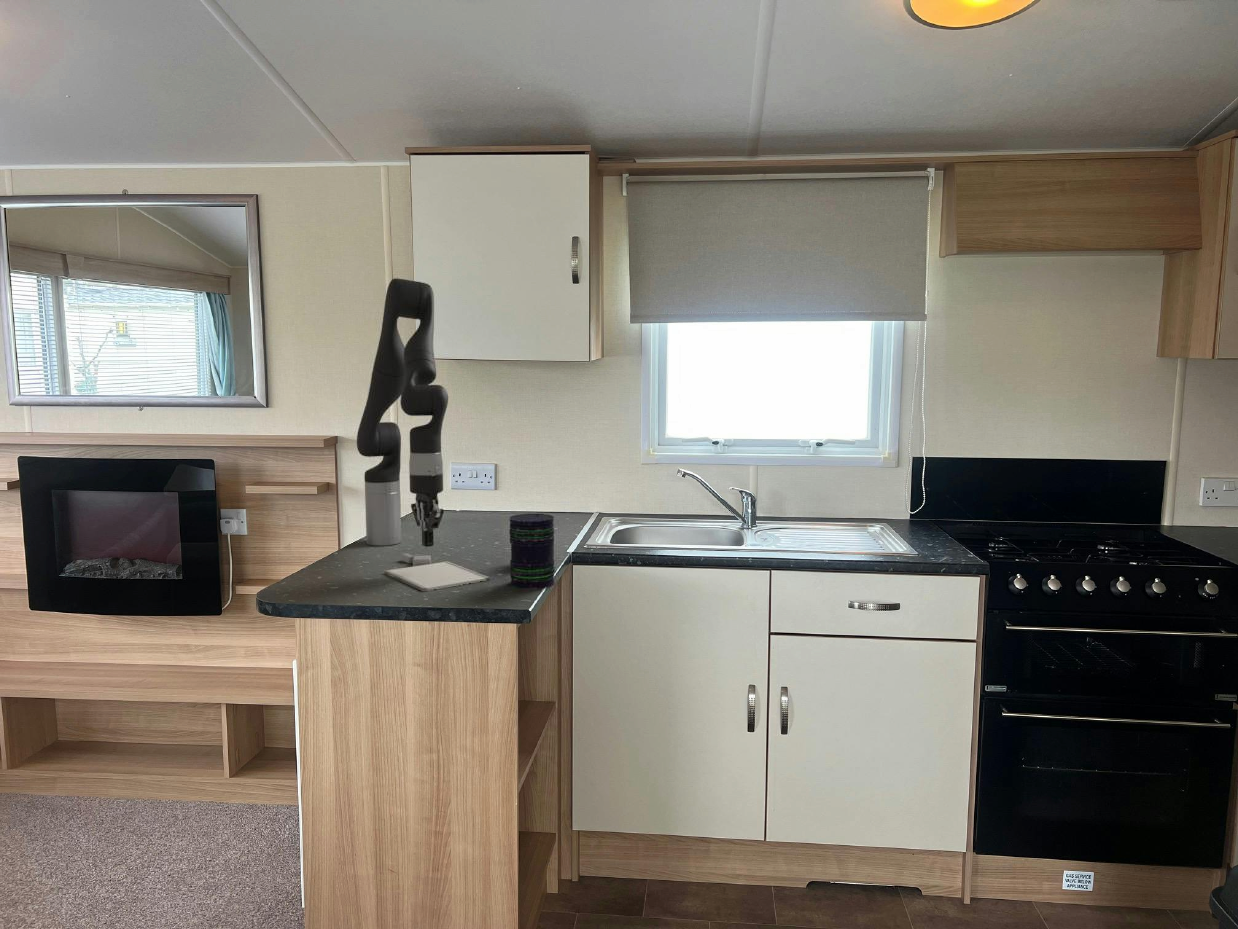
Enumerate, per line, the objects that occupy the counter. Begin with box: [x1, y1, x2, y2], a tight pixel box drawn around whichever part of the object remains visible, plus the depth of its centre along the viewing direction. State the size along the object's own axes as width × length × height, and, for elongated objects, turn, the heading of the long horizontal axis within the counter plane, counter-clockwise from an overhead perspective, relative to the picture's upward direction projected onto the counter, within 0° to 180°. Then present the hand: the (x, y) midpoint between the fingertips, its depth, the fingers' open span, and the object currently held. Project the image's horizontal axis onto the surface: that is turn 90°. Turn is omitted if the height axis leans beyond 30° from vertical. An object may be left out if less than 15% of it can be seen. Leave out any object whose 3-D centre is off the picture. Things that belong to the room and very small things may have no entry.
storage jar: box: [508, 513, 556, 590], centre depth 184 cm, size 10×10×15 cm
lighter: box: [401, 553, 432, 567], centre depth 205 cm, size 7×2×8 cm
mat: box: [384, 560, 490, 592], centre depth 191 cm, size 21×16×1 cm
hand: (427, 546), depth 194 cm, fingers closed
